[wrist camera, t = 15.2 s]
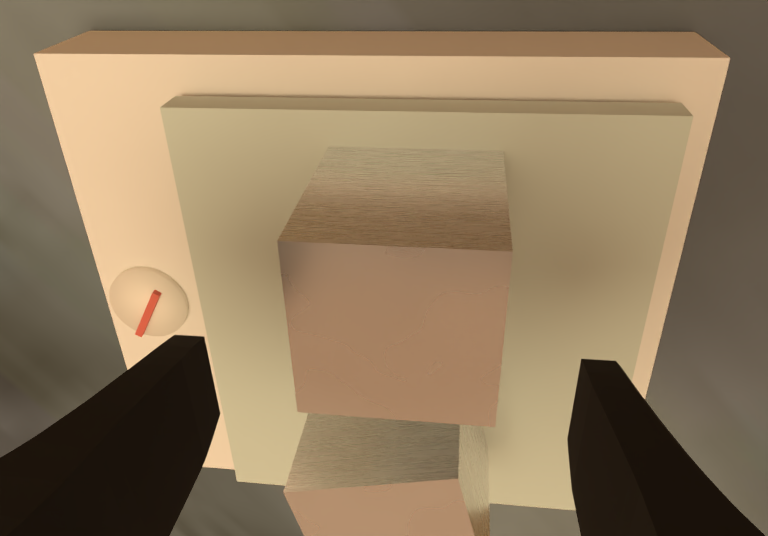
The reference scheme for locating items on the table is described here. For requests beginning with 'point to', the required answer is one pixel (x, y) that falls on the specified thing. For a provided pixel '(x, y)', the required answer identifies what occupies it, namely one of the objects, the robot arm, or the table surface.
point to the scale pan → (528, 269)
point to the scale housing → (325, 80)
